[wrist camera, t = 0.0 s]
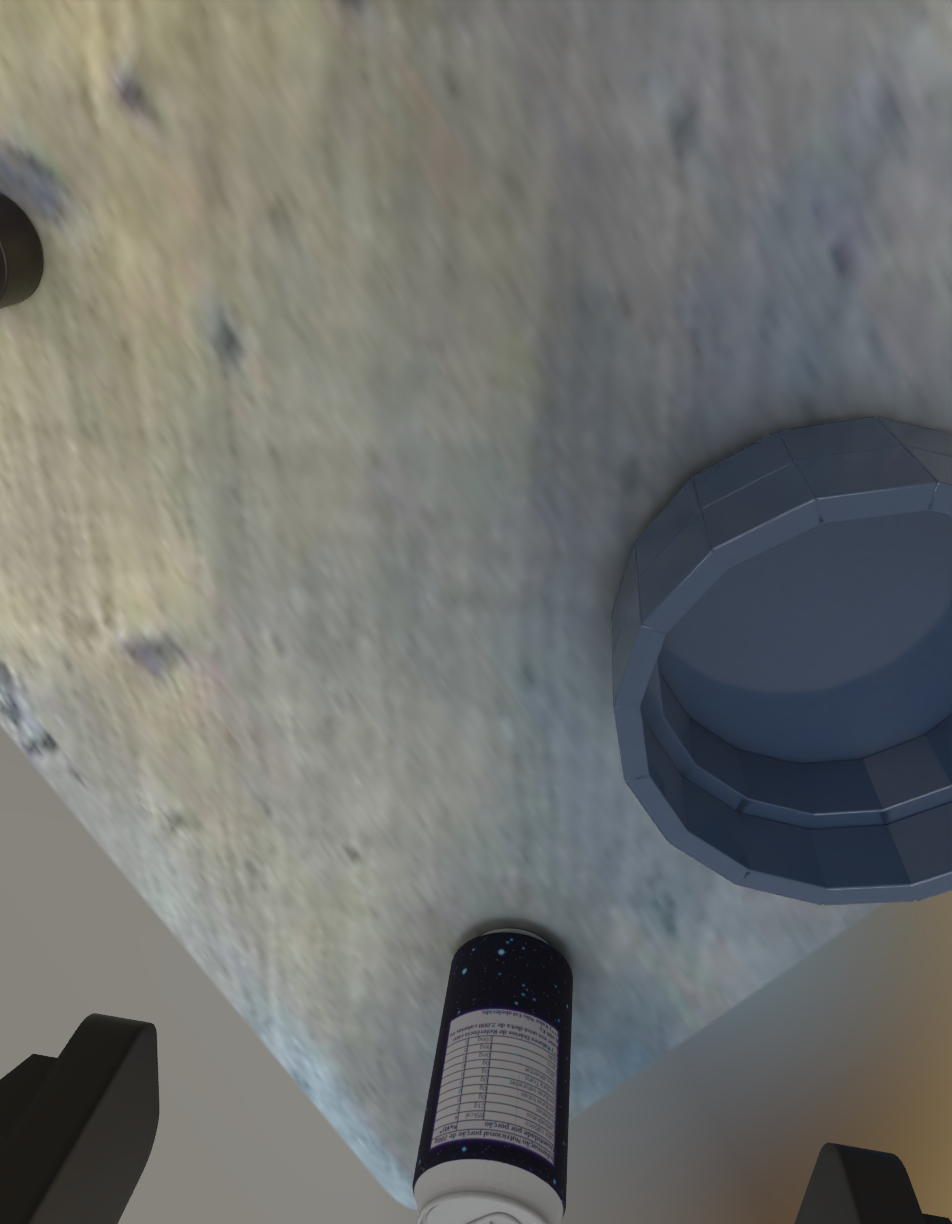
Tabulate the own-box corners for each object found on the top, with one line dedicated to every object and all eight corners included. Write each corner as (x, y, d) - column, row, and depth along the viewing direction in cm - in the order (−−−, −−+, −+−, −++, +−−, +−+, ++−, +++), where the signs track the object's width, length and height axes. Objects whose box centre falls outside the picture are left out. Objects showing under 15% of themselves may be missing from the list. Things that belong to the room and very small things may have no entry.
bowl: (818, 317, 26) (877, 370, 21) (1150, 581, 29) (1283, 691, 23) (535, 645, 33) (521, 751, 28) (825, 835, 36) (868, 967, 30)
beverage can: (429, 951, 42) (374, 1222, 32) (513, 898, 40) (482, 1173, 29) (512, 1014, 44) (485, 1293, 33) (598, 966, 41) (598, 1251, 31)
